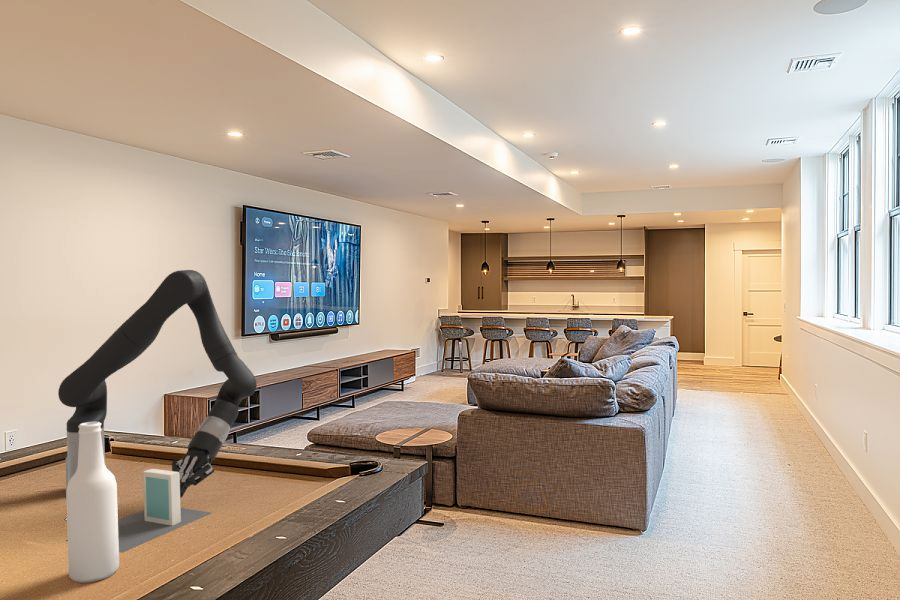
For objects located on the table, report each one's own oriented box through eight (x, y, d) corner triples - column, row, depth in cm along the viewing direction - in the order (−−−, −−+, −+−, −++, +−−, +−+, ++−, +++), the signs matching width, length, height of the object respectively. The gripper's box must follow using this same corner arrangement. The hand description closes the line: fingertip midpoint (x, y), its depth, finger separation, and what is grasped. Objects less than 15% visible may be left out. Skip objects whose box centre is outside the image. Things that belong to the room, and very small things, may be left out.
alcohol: (66, 587, 124) (60, 430, 123) (72, 569, 132) (67, 421, 131) (117, 578, 127) (113, 425, 127) (120, 561, 136) (116, 417, 135)
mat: (65, 542, 146) (65, 540, 146) (159, 505, 170) (159, 504, 170) (122, 554, 139) (122, 552, 139) (212, 514, 163) (212, 512, 163)
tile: (144, 520, 158) (142, 471, 158) (153, 517, 161) (151, 468, 160) (171, 525, 154) (170, 475, 154) (180, 521, 157) (179, 472, 157)
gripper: (182, 428, 172) (145, 487, 161) (221, 431, 167) (186, 493, 156) (198, 443, 177) (163, 502, 166) (236, 447, 172) (203, 508, 161)
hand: (174, 498), depth 161 cm, fingers closed
